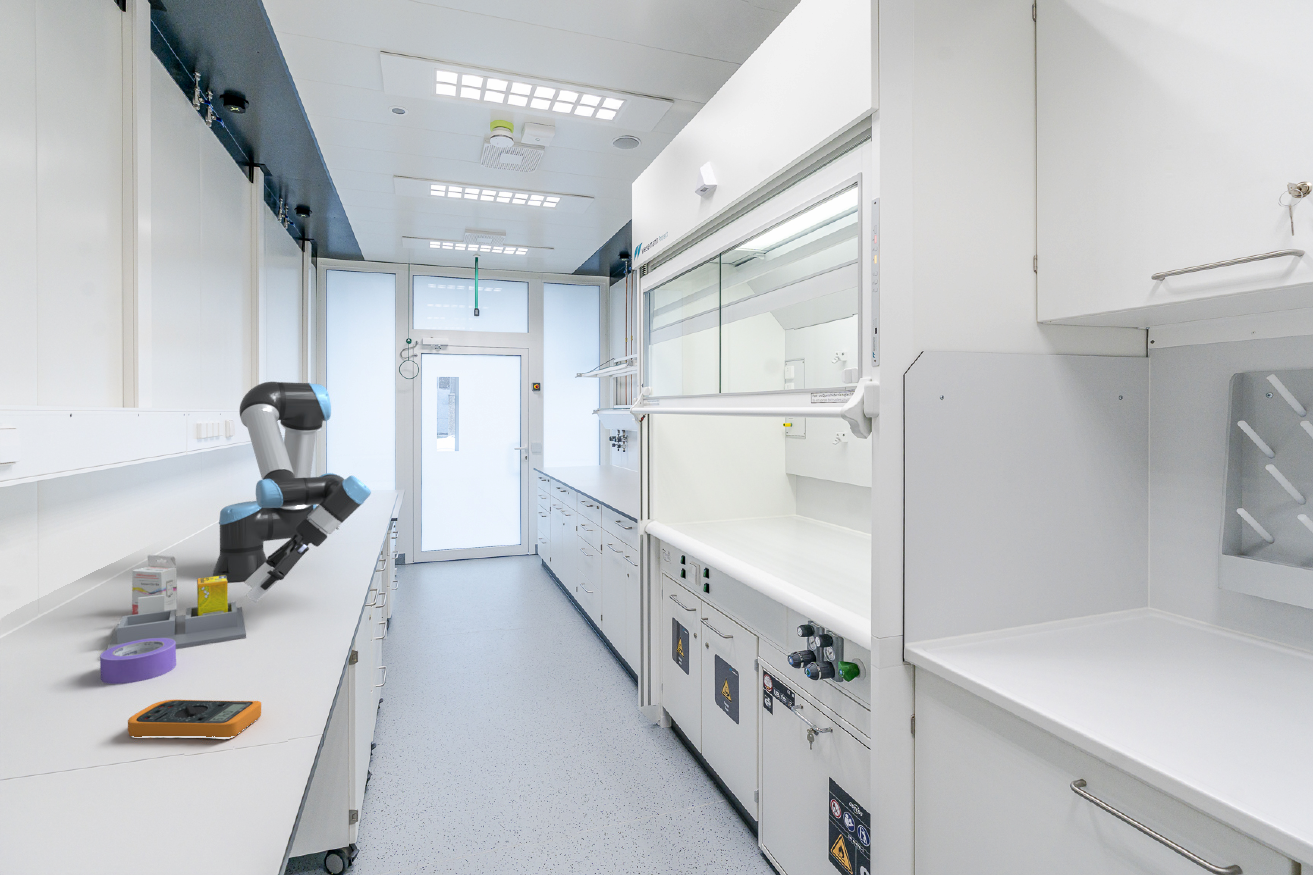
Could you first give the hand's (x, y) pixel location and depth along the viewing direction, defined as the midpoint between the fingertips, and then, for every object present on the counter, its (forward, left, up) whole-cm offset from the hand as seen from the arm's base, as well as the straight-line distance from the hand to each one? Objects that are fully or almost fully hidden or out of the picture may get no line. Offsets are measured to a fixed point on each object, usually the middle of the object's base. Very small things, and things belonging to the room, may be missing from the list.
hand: (249, 591), depth 157 cm
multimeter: (+56, -10, -8) cm, 58 cm away
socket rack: (0, -14, -8) cm, 16 cm away
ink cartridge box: (-21, -20, -8) cm, 30 cm away
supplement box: (-1, -8, -7) cm, 10 cm away
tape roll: (+23, -20, -8) cm, 31 cm away
